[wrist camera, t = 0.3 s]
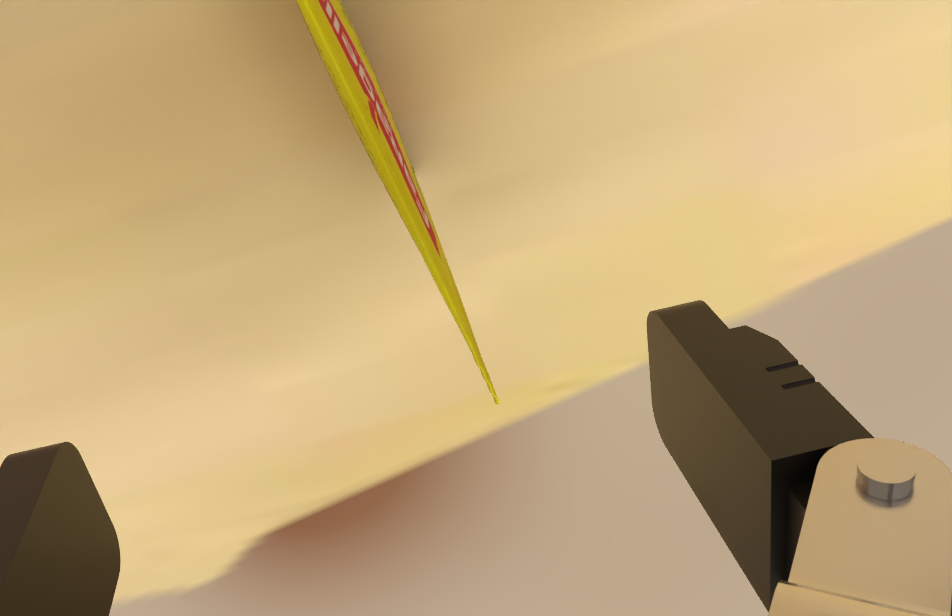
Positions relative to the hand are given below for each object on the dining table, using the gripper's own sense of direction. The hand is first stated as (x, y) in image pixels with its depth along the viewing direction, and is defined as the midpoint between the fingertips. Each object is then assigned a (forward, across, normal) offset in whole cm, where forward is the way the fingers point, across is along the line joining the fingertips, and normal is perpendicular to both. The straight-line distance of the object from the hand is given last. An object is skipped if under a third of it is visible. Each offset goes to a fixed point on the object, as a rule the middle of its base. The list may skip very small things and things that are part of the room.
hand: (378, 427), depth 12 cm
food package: (+29, -1, -1) cm, 29 cm away
